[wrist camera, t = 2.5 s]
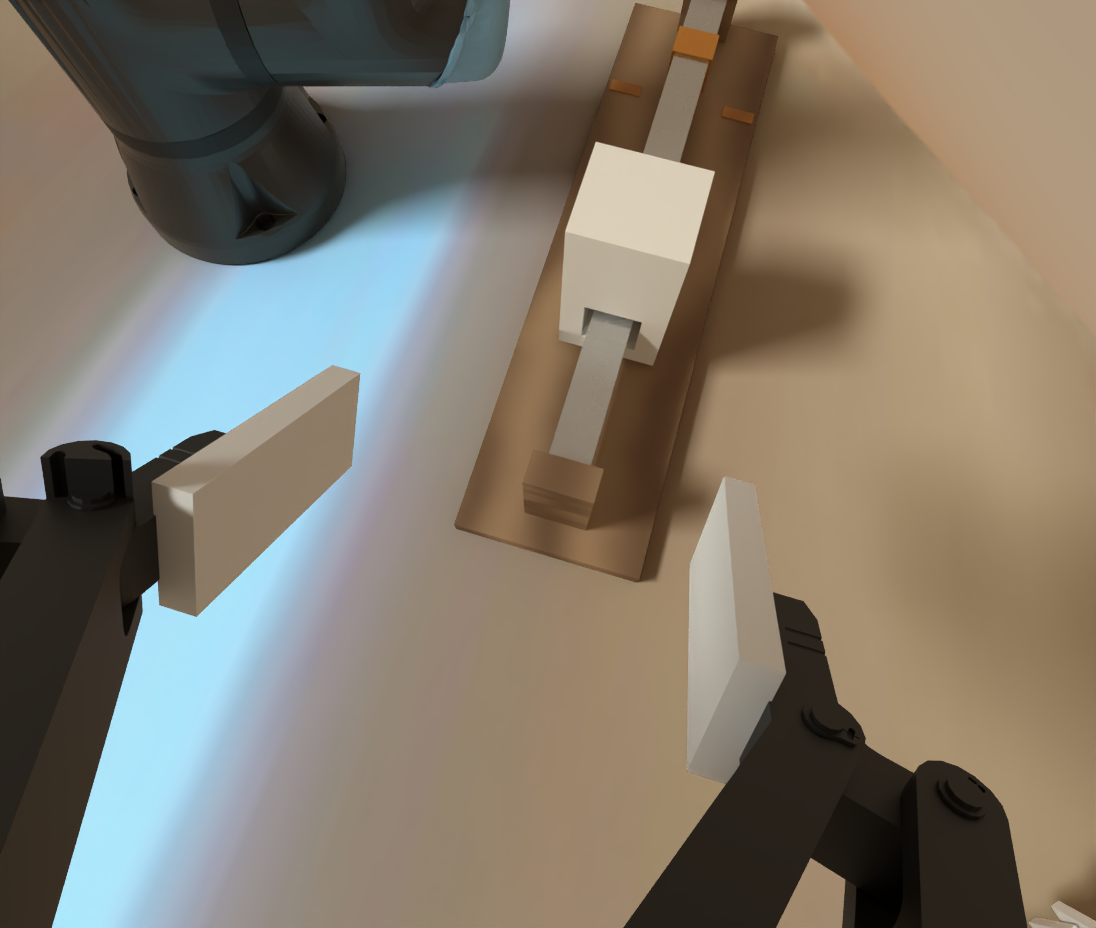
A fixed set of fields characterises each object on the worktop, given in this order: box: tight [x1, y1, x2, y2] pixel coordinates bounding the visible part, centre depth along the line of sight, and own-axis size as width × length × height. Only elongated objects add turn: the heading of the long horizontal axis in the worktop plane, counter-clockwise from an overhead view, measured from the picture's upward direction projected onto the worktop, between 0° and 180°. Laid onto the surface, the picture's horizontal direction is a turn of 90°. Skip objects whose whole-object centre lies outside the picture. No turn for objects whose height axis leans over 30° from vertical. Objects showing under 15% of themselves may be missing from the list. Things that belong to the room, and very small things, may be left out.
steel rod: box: [549, 0, 727, 465], centre depth 46 cm, size 3×42×3 cm, turn 163°
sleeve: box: [558, 142, 715, 366], centre depth 42 cm, size 7×6×12 cm
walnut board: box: [454, 0, 778, 582], centre depth 47 cm, size 12×46×8 cm, turn 163°
